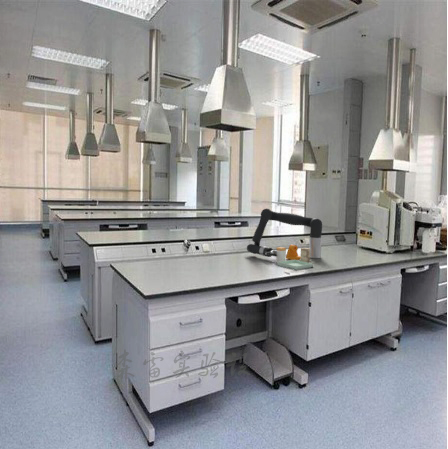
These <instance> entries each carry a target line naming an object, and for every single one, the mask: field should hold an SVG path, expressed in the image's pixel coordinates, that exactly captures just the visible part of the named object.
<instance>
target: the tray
mask: <svg viewBox="0 0 448 449" xmlns="http://www.w3.org/2000/svg"><path fill="white" fill-rule="evenodd" d="M277 266H278V267H283V268H284V269H285V268H286V269H289V270H290V269H291V270H293V269H294V271H298V270H299V269H300V270H306V269H311V267H312V268H314V263H312V262H310V263H308V262H303V261H300V259H299V260H290V259H288V260H286V261H282V262H278V263H277ZM305 268H306V269H305Z"/></svg>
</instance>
